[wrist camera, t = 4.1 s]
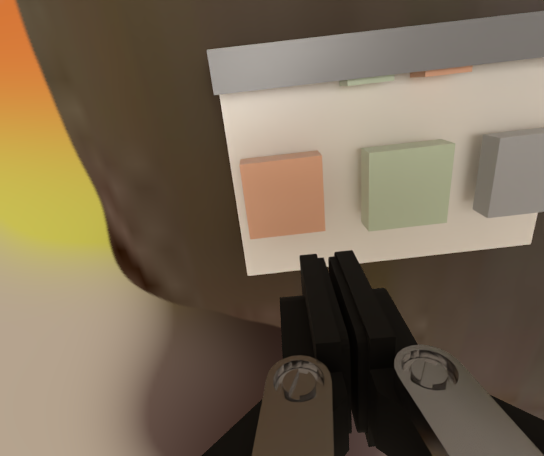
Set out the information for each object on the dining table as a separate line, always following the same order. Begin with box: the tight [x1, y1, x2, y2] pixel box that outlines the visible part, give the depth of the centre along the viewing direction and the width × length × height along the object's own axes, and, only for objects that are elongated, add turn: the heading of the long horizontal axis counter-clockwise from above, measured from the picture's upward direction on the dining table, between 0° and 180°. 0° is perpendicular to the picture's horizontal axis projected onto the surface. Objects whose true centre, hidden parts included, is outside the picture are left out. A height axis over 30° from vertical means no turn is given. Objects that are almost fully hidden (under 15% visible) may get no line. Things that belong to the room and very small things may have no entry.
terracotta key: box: [239, 150, 325, 239], centre depth 20 cm, size 5×5×2 cm
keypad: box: [207, 11, 544, 276], centre depth 21 cm, size 20×14×5 cm
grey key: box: [473, 127, 544, 218], centre depth 19 cm, size 5×5×2 cm
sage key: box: [361, 139, 455, 232], centre depth 19 cm, size 5×5×2 cm
